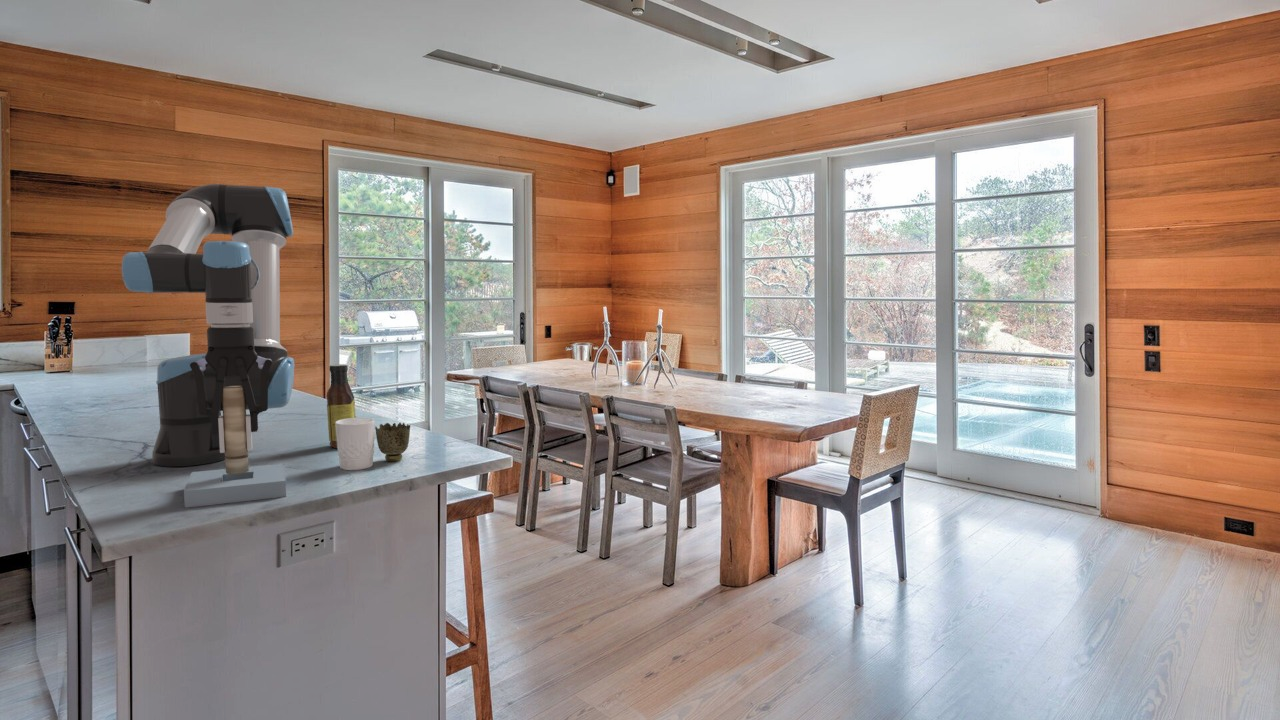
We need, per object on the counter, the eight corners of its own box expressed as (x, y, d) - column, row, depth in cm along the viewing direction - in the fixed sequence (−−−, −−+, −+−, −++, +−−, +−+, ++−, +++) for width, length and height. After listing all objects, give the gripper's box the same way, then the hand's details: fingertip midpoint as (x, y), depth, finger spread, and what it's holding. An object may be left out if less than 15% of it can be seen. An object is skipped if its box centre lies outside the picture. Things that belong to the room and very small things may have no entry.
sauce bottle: (362, 445, 176) (359, 364, 174) (339, 450, 171) (336, 367, 169) (345, 442, 179) (343, 362, 177) (322, 446, 174) (319, 365, 172)
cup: (400, 465, 157) (399, 429, 156) (369, 463, 159) (368, 427, 158) (417, 457, 164) (416, 423, 164) (387, 455, 166) (386, 421, 165)
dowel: (226, 470, 137) (221, 386, 135) (249, 467, 138) (245, 385, 137) (224, 474, 133) (220, 389, 132) (248, 472, 135) (244, 388, 133)
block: (192, 487, 139) (191, 472, 139) (284, 478, 146) (284, 463, 146) (184, 507, 127) (183, 491, 126) (286, 496, 134) (285, 480, 134)
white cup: (352, 473, 151) (350, 426, 150) (329, 467, 155) (327, 421, 154) (383, 465, 157) (382, 420, 156) (360, 460, 161) (359, 416, 160)
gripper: (174, 327, 126) (181, 458, 128) (281, 326, 134) (286, 450, 136) (178, 325, 133) (185, 450, 135) (280, 324, 140) (285, 442, 143)
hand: (236, 449), depth 135 cm, fingers closed on dowel, 4 cm apart
